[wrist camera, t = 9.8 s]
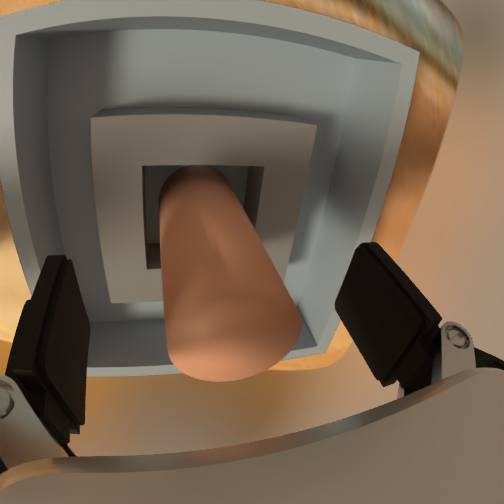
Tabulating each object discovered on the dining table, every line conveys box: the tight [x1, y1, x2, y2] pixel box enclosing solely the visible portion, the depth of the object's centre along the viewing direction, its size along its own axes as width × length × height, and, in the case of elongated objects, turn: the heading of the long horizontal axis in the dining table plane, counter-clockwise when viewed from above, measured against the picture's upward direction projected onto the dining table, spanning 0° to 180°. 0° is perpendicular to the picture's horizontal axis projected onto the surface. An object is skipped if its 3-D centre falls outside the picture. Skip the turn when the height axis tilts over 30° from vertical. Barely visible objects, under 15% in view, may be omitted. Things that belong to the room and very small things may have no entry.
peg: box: [159, 165, 302, 381], centre depth 13 cm, size 4×4×10 cm
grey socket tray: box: [0, 0, 420, 376], centre depth 16 cm, size 20×18×5 cm
